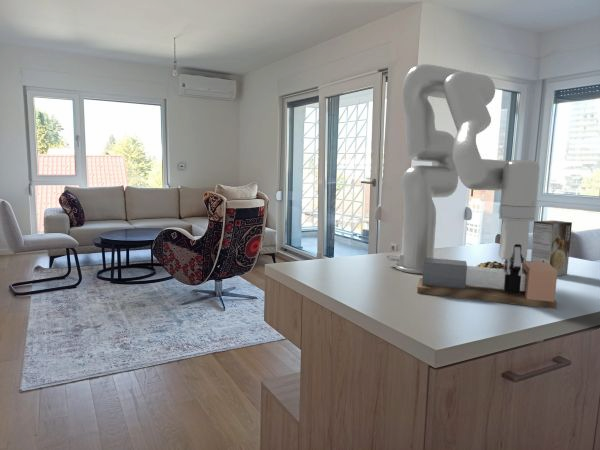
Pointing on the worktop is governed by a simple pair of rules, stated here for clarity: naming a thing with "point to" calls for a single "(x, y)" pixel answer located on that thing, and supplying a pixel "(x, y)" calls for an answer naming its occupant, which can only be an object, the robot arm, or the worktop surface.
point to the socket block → (540, 281)
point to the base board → (485, 295)
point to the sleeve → (444, 273)
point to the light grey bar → (490, 277)
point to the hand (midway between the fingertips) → (510, 288)
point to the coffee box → (552, 244)
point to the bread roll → (491, 265)
